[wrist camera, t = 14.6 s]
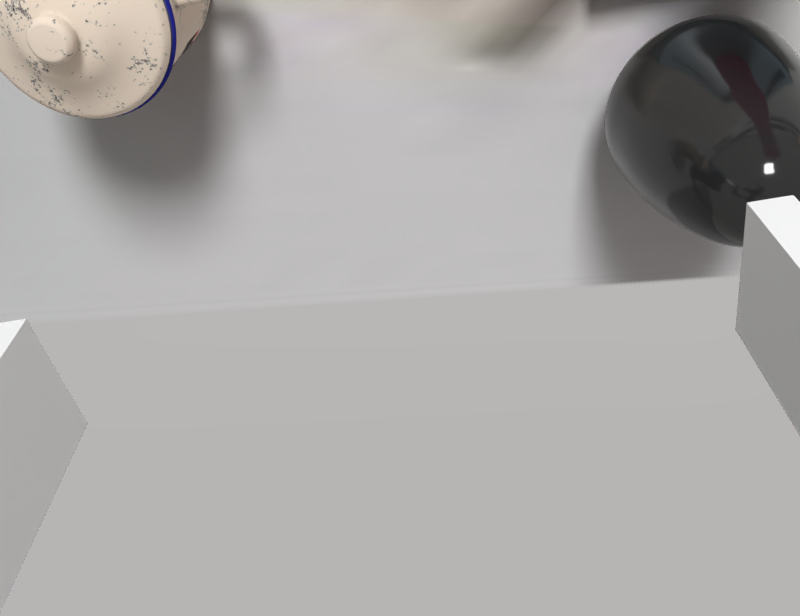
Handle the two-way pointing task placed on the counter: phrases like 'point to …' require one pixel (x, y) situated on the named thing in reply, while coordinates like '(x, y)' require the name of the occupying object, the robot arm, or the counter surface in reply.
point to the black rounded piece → (708, 123)
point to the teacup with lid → (95, 50)
